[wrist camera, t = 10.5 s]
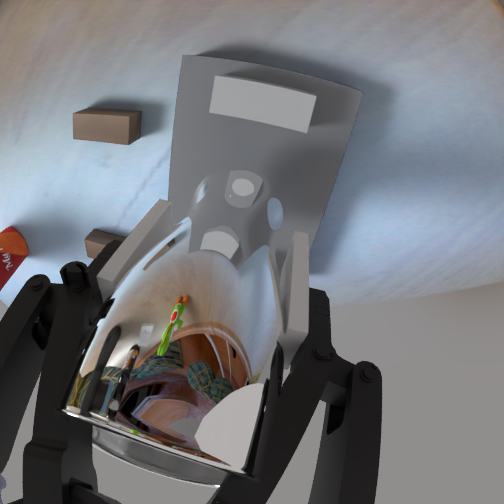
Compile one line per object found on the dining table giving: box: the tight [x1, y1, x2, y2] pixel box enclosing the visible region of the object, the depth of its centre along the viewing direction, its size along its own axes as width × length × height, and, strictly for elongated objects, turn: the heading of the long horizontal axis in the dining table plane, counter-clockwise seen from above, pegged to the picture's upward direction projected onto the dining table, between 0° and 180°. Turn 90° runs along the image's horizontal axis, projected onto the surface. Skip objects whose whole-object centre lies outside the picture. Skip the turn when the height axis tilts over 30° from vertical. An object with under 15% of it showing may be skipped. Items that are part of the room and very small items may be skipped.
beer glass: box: [52, 167, 287, 488], centre depth 13 cm, size 7×7×15 cm
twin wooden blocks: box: [73, 108, 141, 259], centre depth 25 cm, size 16×6×2 cm, turn 169°
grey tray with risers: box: [168, 55, 363, 283], centre depth 21 cm, size 18×12×4 cm, turn 169°
